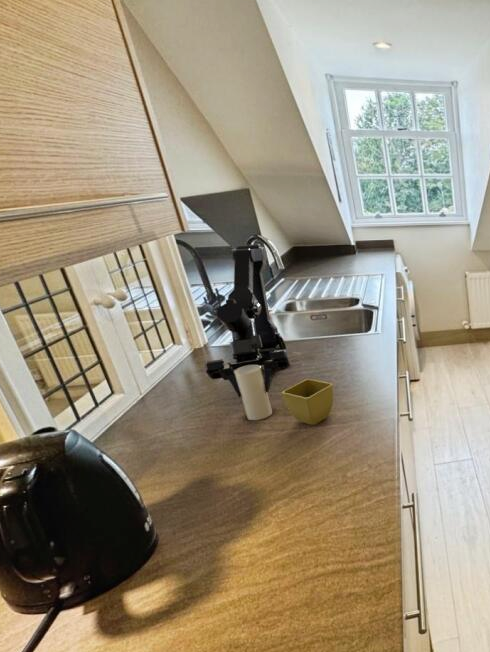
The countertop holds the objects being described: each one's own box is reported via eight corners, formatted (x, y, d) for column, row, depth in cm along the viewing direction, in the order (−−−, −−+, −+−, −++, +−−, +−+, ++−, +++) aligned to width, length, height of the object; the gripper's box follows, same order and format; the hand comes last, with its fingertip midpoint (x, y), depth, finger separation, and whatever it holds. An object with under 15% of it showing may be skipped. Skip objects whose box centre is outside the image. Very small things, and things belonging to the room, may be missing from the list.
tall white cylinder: (242, 416, 118) (229, 370, 113) (265, 406, 123) (253, 362, 117) (254, 422, 115) (241, 376, 110) (276, 412, 119) (265, 367, 114)
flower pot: (339, 414, 117) (333, 383, 114) (314, 431, 110) (307, 398, 106) (314, 408, 121) (307, 378, 117) (288, 424, 113) (280, 392, 110)
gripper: (194, 331, 109) (201, 390, 104) (278, 320, 116) (288, 375, 111) (208, 351, 119) (215, 406, 114) (285, 339, 126) (294, 390, 121)
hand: (253, 394), depth 115 cm, fingers closed on tall white cylinder, 6 cm apart
